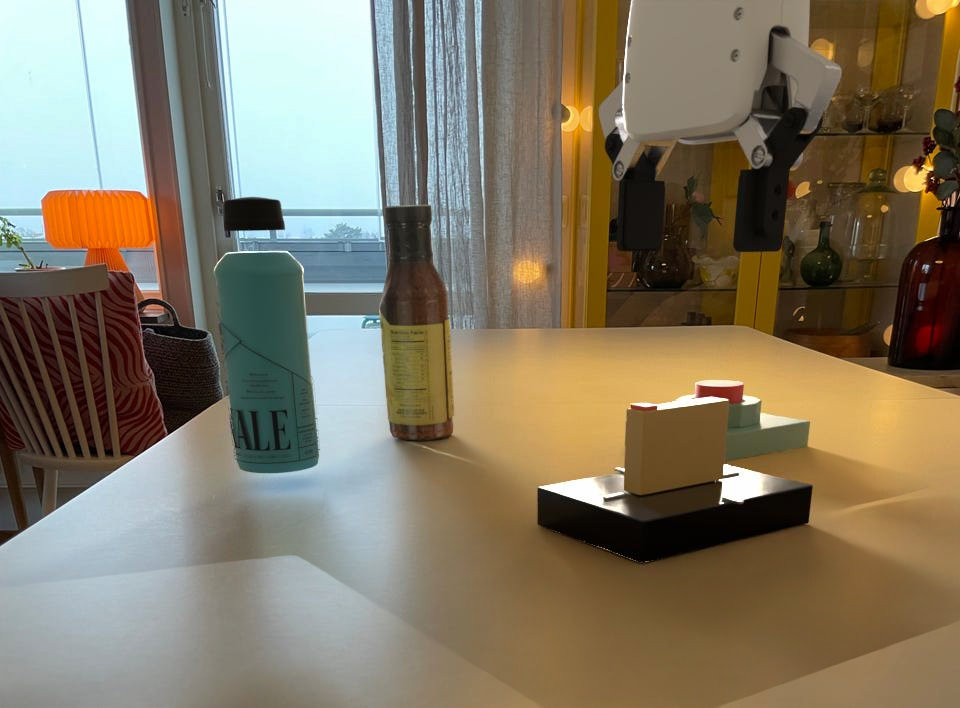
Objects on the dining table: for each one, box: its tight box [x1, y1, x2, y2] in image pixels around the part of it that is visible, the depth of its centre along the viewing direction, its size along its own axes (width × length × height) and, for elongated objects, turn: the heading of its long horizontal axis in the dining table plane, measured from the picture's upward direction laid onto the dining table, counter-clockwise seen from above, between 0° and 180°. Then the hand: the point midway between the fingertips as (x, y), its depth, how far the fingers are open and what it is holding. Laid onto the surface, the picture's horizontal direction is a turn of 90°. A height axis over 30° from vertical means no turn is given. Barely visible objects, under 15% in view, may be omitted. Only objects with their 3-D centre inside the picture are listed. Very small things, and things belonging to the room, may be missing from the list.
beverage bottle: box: [213, 196, 321, 474], centre depth 70 cm, size 6×7×20 cm
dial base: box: [536, 464, 814, 563], centre depth 61 cm, size 14×11×3 cm
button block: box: [624, 394, 811, 462], centre depth 83 cm, size 12×10×4 cm
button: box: [694, 379, 745, 404], centre depth 82 cm, size 4×4×2 cm
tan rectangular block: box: [623, 397, 729, 495], centre depth 60 cm, size 7×2×5 cm, turn 123°
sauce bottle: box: [378, 204, 456, 442], centre depth 87 cm, size 7×6×20 cm
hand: (694, 251), depth 57 cm, fingers open, 9 cm apart
